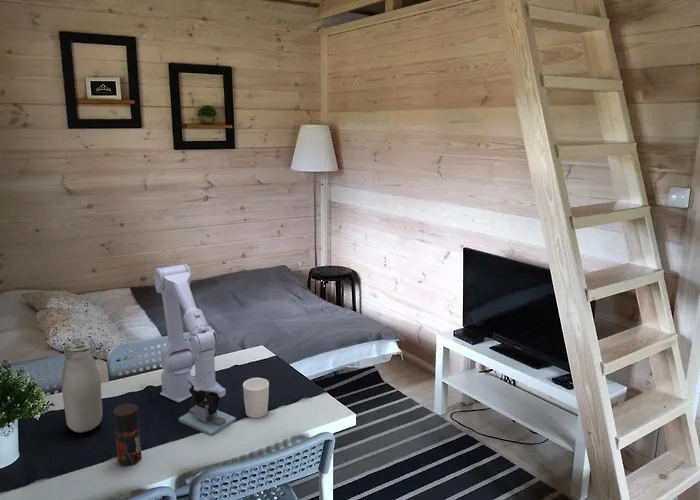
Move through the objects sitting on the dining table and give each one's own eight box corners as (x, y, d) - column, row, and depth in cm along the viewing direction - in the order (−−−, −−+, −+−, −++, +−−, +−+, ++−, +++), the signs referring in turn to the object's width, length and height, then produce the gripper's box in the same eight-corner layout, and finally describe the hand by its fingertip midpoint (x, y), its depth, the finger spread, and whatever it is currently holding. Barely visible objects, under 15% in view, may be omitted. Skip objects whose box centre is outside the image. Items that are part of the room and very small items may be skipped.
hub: (195, 417, 166) (194, 404, 165) (207, 411, 170) (206, 398, 169) (205, 422, 164) (205, 409, 163) (217, 415, 167) (216, 403, 166)
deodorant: (122, 452, 151) (117, 403, 147) (144, 452, 152) (140, 403, 148) (114, 466, 145) (110, 415, 142) (138, 465, 146) (133, 415, 142)
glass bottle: (76, 442, 155) (65, 351, 148) (61, 428, 162) (51, 339, 155) (110, 428, 162) (102, 340, 155) (95, 415, 169) (86, 330, 162)
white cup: (264, 420, 168) (264, 391, 166) (240, 418, 169) (239, 388, 167) (272, 407, 176) (272, 378, 173) (248, 404, 177) (247, 376, 174)
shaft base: (178, 421, 167) (177, 406, 166) (203, 406, 175) (203, 392, 174) (211, 436, 160) (210, 420, 158) (236, 420, 168) (235, 405, 167)
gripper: (177, 368, 164) (180, 409, 167) (212, 381, 156) (214, 424, 160) (195, 359, 169) (197, 399, 173) (230, 372, 162) (231, 413, 165)
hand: (206, 410), depth 167 cm, fingers closed on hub, 4 cm apart
